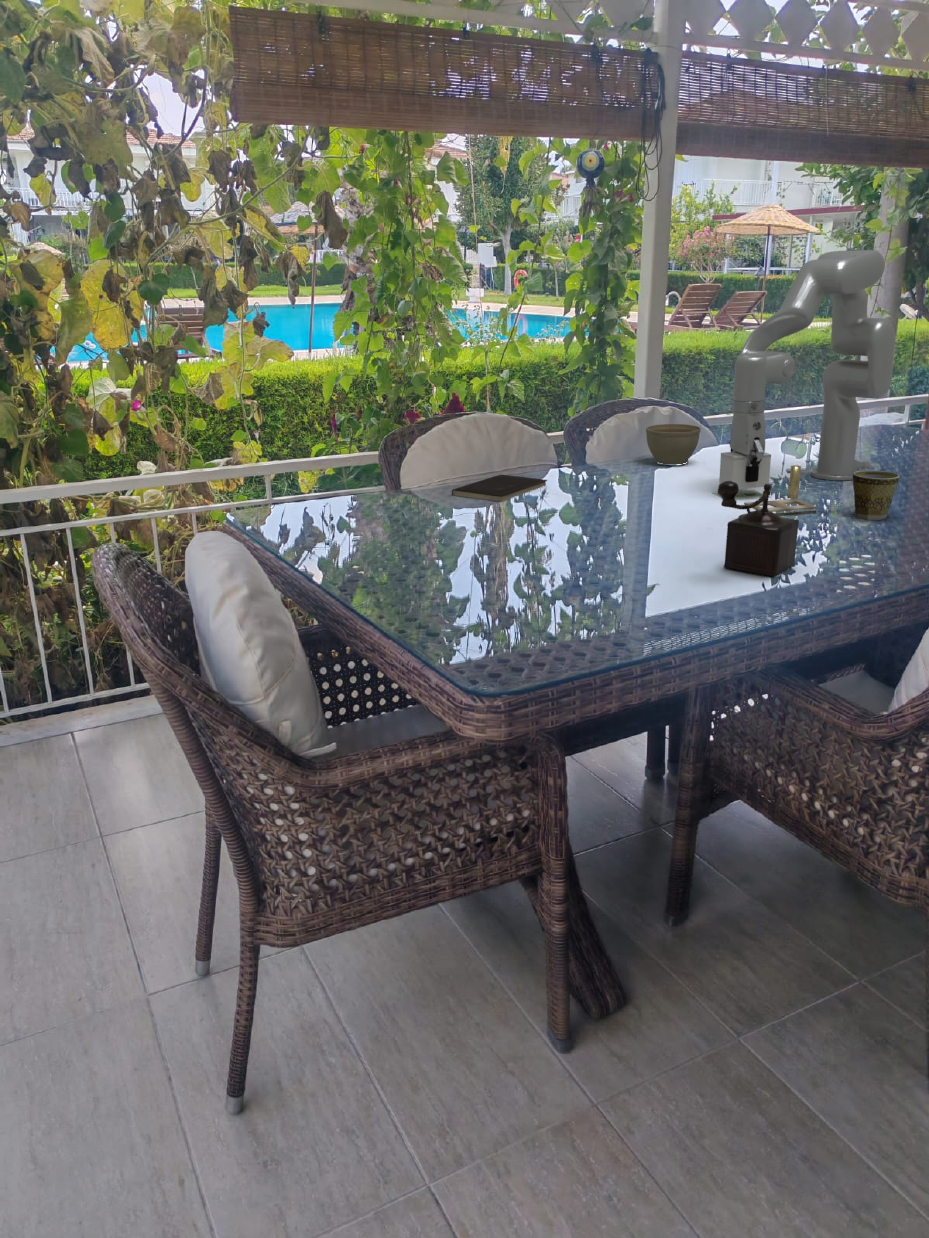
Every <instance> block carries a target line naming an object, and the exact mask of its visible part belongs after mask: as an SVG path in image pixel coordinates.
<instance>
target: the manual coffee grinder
mask: <svg viewBox="0 0 929 1238" xmlns="http://www.w3.org/2000/svg"><path fill="white" fill-rule="evenodd" d="M771 489H772V487H771V484H770V483H769V484H765V485H764V487H763V492H762V493H763V495H762V496H761V497H760V498H757V499H756V500H755V501H752V502H753V503H751V504H747V505H744V504H738V502H737V501H738V500H735V496H736V494H737V493H738V491H740V489H739V486H738V484H737V483H735V482H732V481H725V482H723V483H721V484H718V487H717V492H718V494H719V495H720V496H721V497H720V498H721V500H722V501H721V507H725V508H729V509H730V508H731V509H737V510H746V512H747V513H743V514H740V515H739V516H737V518H734V519H732V520H729V521H728V522H727V525H726V526H727V529H726V540H725V555H724V564H723V568H725V569H728V570H732V571H735V572H740V573H745V574H748V575H749V574H750V575H755V576H760V577H766V578H775V577H778V576H780V575H781V574H783V573H785V572H786V570H787V569H788V568H789V569H791V568H793V567H794V566H795V564H796V562H795V561H796V551H797V541H798V532H799V524H800V521H799V519H794V518H789V517H784V516H778V515H777V514H775V513H776V512H771V511H768V509H767V508H769V505H768V501H769V499H770V498H769V496H770V497H771ZM762 502H763V506H761V507H762V509H759V510H755V509H754V510H751V509H753V507H755V506H757V505H759V504H760V503H762ZM793 565H794V566H793ZM789 569H788V570H789ZM788 570H787V571H788ZM782 572H783V573H782ZM777 575H778V576H777Z"/></svg>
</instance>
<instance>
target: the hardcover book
mask: <svg viewBox="0 0 929 1238" xmlns="http://www.w3.org/2000/svg"><path fill="white" fill-rule="evenodd" d="M546 482H548V479H543V478H533V477H525V476H518V475H510V474H497V475H495V476H491V477H488V478H485V479H482V480H481V479H480V480H477V481H475V482H473V483H469V484H466V485H463V486H459V487H455V488H453V489H452V490H451V496H454V497H455V496H456V497H462V498H469V499H476V500H477V499H479V500H484V501H492V502H499V503H501V502H504V501H507V500H510V499H512V498H516V497H518V496H522V495H523V493H524V494H526V493H529V492H533V491H535V490H538V488H539V489H541V488H543V487H542V486H544V487H547V486H546V485H547V483H546ZM540 487H541V488H540ZM532 490H533V491H532ZM521 494H522V495H521ZM515 496H516V497H515Z"/></svg>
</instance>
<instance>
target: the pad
mask: <svg viewBox="0 0 929 1238" xmlns="http://www.w3.org/2000/svg"><path fill="white" fill-rule="evenodd" d="M711 494H712V495H714V496H717V497H718V498H721V496H720V495H719V494H718V491H717V492H711ZM762 495H763V492H760V491H757V490H755V489H751V490H747V489H746V490H739V491H738V493H737V494H736V496H735V500H736V501H738V500H739V501H741V500H754V499H755V500H758V499H759V498H760V497H761V496H762ZM770 498H771V499H772V496H771V495H770V496H769V498H768V499H770Z"/></svg>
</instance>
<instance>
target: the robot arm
mask: <svg viewBox="0 0 929 1238" xmlns="http://www.w3.org/2000/svg"><path fill="white" fill-rule="evenodd" d="M885 264H886V261H885V258H884V256H883V254H882V253H880V251H877V250H874V249H863V250H862V249H859V250H833V251H828V252H825V253H822V254H821V255H819V256H818V257H817V259H812V260H809V261H807V262H805V263H804V264H802V265H801V267H800V268H799V271H798V273H797V274H796V276H795V279H794V280H793V282H792V284H791V286H790V288H789V290H788V292H787V294H786V296H785V298H784V300H783V301H782V304H781V306H780V308H779V310H778V311H777V312H775V313H774V314H772V315H771V316H769V317H768V318H767V319H766V320H765V321H763V322H761V323H760V325H758V326H757V327H756V328H755V329H754V330H753V331H752V332H751V333H750V334H749V336H748V337H747V339H746V341H744V342H745V343H744V344H743V346H742V348H741V351H740V352H739V355H738V357H737V358H736V359H735V362H734V363H735V364H734V378H733V379H734V380H733V381H734V382H733V399H732V415H733V416H732V420H731V421H732V422H731V430H730V440H729V441H728V444H729V448H730V449H729V450H730V451H729V452H739V453H741V454H744V455H746V456H747V463H748V466H746V477H745V481H746V482H756V481H758V475H759V466H760V462H761V460H762V457H763V455H764V452H765V453H766V418H765V405H766V404H765V403H766V390H767V384H782V383H785V382H787V381H789V380H790V379H791V378H792V377H793V376H794V373H795V371H796V360H794V357H793V356H792V355H790V354H789V353H786V352H782V351H771V350H768V349H769V347H770V346H772V345H773V344H774V343H775V342H777V341H779V340H781V339H783V338H787V337H788V336H791V335H793V334H796V333H798V332H800V331H803V330H805V329H807V328H808V327H810V325H812V323H813V321H814V318H815V316H816V314H817V313H818V310H819V309H820V307H821V305H822V302H823V300H824V298H825V297H827V296H830V297H831V300H832V313H831V314H832V317H831V334H830V335H831V336H830V346H831V349H832V351H833V352H834V353H836V354H839V355H844V356H859V357H861V356H862V357H867V360H860V359H837V360H834V361H832V362H830V363H829V364H828V365H827V366H825V368H824V371H823V375H822V387H823V410H822V411H823V412H822V420H821V421H822V422H821V431H820V437H819V438H820V439H819V450H818V458H817V467H816V469H815V468H814V469H811V471H810V476H811V477H813V478H816V479H820V480H828V481H829V480H830V481H851V480H852V481H853V473H854V472H856V471H860V469H861V470H866V469H868V470H869V469H870V468H871V463H870V461H861V462H860V461H859V460H858V459H856V451H857V443H858V436H859V435H858V434H859V425H860V419H861V410H860V407H859V406H860V405H859V403H858V401H857V400H856V398H863V399H880V398H883V397H884V396H886V394H887V393H888V391H889V390H890V387H891V385H892V384H891V383H892V379H893V368H894V367H893V366H894V357H895V356H894V355H895V346H896V345H895V344H896V332H895V329H894V326H893V323H891V321H889V319H886V318H879V317H878V318H877V317H875V318H874V317H868V295H867V291H866V289H867V288H871V287H873V286H874V285H876V284H877V283H878V282H879V281H880V280H881V278H882V276H883V274H884V272H885V267H886V265H885ZM750 452H755V453H750ZM751 456H755V457H753V459H752V460H751Z"/></svg>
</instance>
